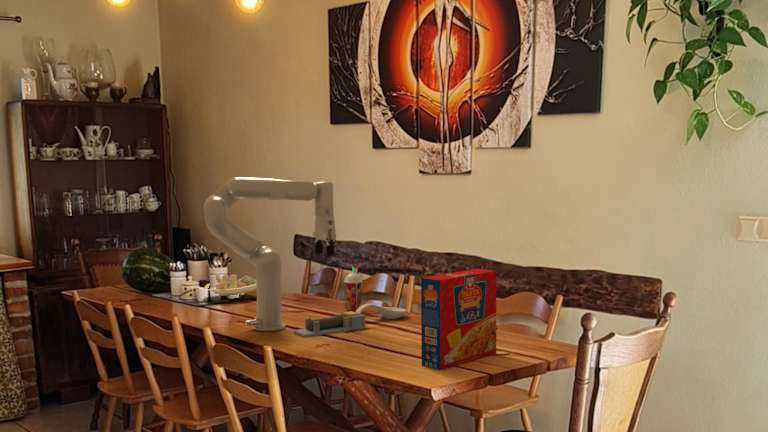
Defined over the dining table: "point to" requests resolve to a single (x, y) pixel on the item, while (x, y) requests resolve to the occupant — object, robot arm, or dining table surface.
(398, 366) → the dining table surface
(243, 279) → the dish with food
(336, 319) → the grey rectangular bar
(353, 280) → the smoothie
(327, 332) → the clip rail
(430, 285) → the pasta box
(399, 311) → the spoon rest
